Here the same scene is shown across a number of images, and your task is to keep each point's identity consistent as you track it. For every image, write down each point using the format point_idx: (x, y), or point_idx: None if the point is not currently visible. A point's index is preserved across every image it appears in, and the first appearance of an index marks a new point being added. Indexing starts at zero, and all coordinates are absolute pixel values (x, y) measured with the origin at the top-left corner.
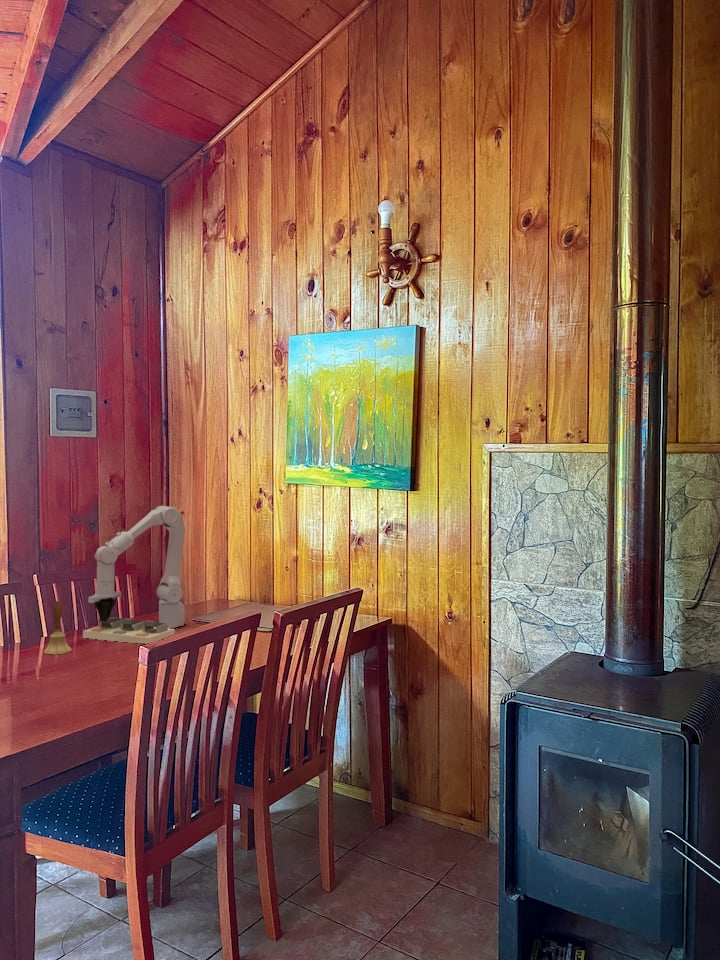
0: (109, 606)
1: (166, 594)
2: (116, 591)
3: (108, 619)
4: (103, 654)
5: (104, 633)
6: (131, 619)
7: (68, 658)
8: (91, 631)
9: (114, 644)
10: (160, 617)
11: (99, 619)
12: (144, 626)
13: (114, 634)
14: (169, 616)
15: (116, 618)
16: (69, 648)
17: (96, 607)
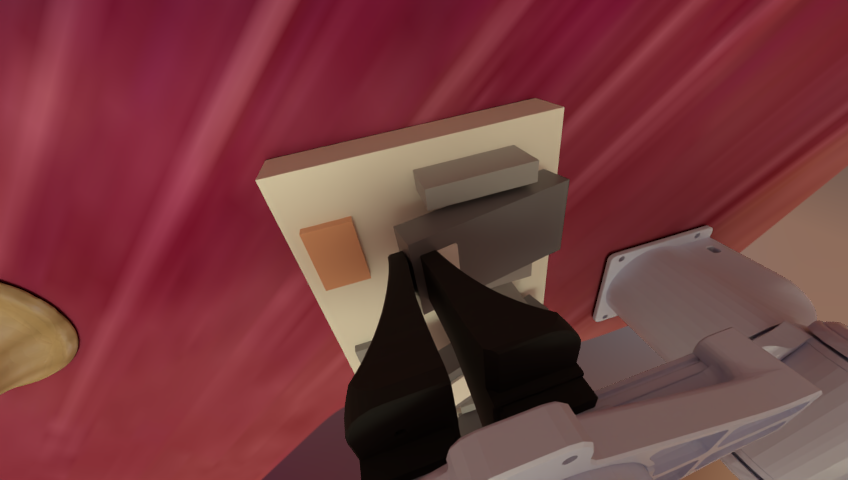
0: (469, 384)
1: (735, 469)
2: (804, 397)
3: (419, 305)
4: (197, 443)
5: (327, 319)
6: (465, 396)
7: (17, 441)
8: (294, 242)
9: (317, 362)
10: (647, 309)
11: (401, 238)
12: (460, 408)
13: (348, 359)
14: (646, 342)
15: (495, 279)
16: (43, 375)
17: (371, 346)
